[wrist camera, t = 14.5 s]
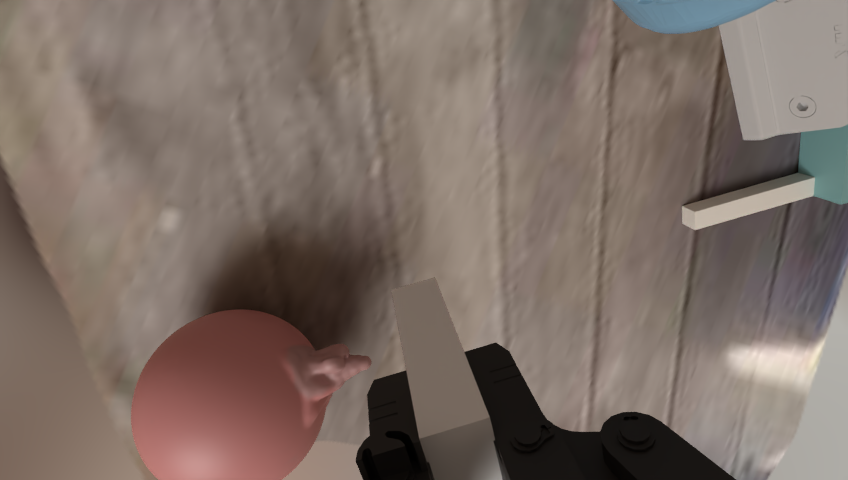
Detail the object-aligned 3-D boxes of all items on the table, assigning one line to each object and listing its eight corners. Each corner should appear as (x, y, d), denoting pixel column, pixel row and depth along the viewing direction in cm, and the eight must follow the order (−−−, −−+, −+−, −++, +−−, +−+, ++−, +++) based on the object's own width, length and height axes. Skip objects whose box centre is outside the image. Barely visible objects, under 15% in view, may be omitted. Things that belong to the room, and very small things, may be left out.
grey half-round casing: (707, -27, 42) (846, -70, 33) (740, -49, 43) (882, -96, 35) (744, 143, 49) (868, 144, 40) (771, 120, 50) (897, 116, 41)
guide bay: (675, -57, 41) (717, -70, 36) (839, -99, 42) (900, -117, 37) (682, 223, 51) (715, 241, 46) (814, 185, 52) (859, 198, 47)
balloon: (391, 368, 52) (408, 487, 38) (211, 428, 52) (161, 573, 37) (342, 243, 46) (341, 330, 32) (138, 310, 45) (45, 428, 31)
